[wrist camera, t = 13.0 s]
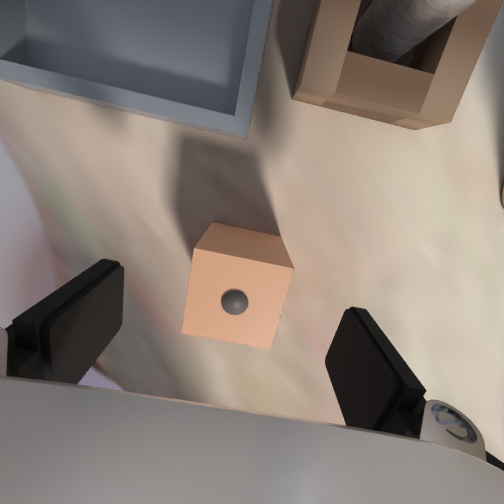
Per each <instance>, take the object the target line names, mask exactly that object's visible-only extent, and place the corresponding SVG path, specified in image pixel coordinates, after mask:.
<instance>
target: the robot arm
mask: <svg viewBox="0 0 504 504" xmlns="http://www.w3.org/2000/svg"><path fill="white" fill-rule="evenodd" d="M123 287H124V267H123V266H120V263H119V262H118V261H113V260H108V259H101V260H100V261H98V262H97V263H96V264H94V265H93V266H91V267H90V268H88V269H87V270H85V271H84V272H82V273H81V274H79V275H78V276H76V277H75V278H73V279H72V280H71V281H69V282H68V283H66V284H65V285H63V286H62V287H60V288H59V289H57V290H56V291H54V292H53V293H51V294H50V295H49V296H47V297H46V298H44V299H43V300H41V301H40V302H38V303H37V304H35V305H34V306H32V307H31V308H29V309H28V310H26V311H25V312H24V313H22V314H21V315H19V316H18V317H16V318H15V319H13V320H12V321H13V324H11V325H10V326H8V327H7V328H6V329H3V328H1V327H0V504H504V463H503V462H501V461H500V460H498V459H497V458H496V457H494V456H493V455H491V454H490V453H488V452H487V451H486V450H485V443H484V440H483V436H482V434H481V433H480V431H479V430H478V428H477V427H476V426H475V425H474V424H473V422H472V421H471V420H470V419H469V418H467V417H466V416H465V415H464V414H463V413H462V412H460V411H459V410H457V409H456V408H454V407H453V406H451V405H449V404H447V403H445V402H442V401H439V400H429V401H426V400H425V398H424V397H423V395H424V394H425V392H426V389H425V388H424V386H423V385H422V384H421V382H420V381H419V380H418V378H417V377H416V376H415V374H414V373H413V372H412V370H411V369H410V368H409V366H408V365H407V364H406V362H405V361H404V360H403V358H402V357H401V356H400V354H399V353H398V351H397V350H396V349H395V347H394V346H393V345H392V343H391V342H390V341H389V339H388V338H387V337H386V335H385V334H384V333H383V331H382V330H381V329H380V327H379V326H378V325H377V323H376V322H375V321H374V319H373V318H372V317H371V315H370V314H369V312H368V311H367V310H366V309H362V308H357V307H350V308H349V309H346V310H345V312H344V314H343V316H342V319H341V321H340V324H339V326H338V329H337V331H336V333H335V336H334V338H333V341H332V343H331V345H330V348H329V350H328V353H327V355H326V358H325V365H326V368H327V371H328V374H329V377H330V380H331V383H332V386H333V389H334V391H335V394H336V397H337V400H338V403H339V406H340V409H341V411H342V414H343V417H344V420H345V423H346V426H345V425H339V424H332V423H326V422H320V421H314V420H308V419H301V418H295V417H289V416H283V415H277V414H270V413H264V412H257V411H251V410H245V409H238V408H232V407H225V406H219V405H212V404H206V403H199V402H193V401H186V400H180V399H173V398H166V397H160V396H153V395H146V394H139V393H133V392H126V391H119V390H112V389H106V388H99V387H92V386H85V385H77V384H78V383H79V381H80V380H81V379H82V377H83V376H84V375H85V374H86V372H87V371H88V370H89V368H90V367H91V366H92V365H93V363H94V362H95V361H96V359H97V358H98V357H99V355H100V354H101V353H102V352H103V350H104V349H105V348H106V346H107V345H108V344H109V342H110V341H111V340H112V339H113V337H114V336H115V335H116V333H117V332H118V331H119V329H120V327H121V325H122V315H123Z"/></svg>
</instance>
